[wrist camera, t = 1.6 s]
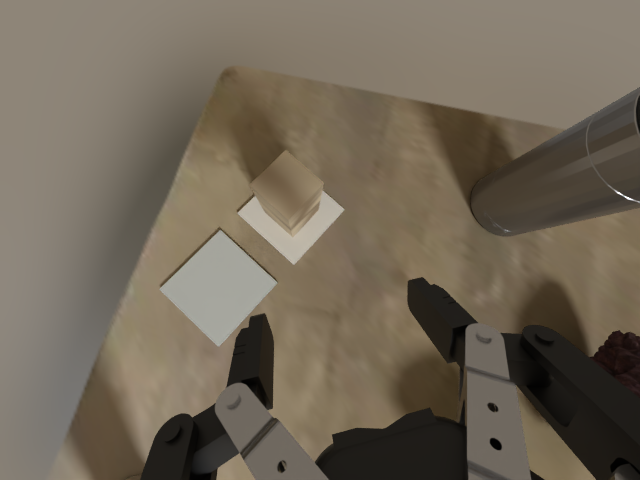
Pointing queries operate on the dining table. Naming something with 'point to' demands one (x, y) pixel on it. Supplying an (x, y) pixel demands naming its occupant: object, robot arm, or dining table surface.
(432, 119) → the dining table surface
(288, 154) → the beech block
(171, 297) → the rest pad
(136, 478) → the beer glass
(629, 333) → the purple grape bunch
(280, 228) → the tile
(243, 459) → the robot arm
